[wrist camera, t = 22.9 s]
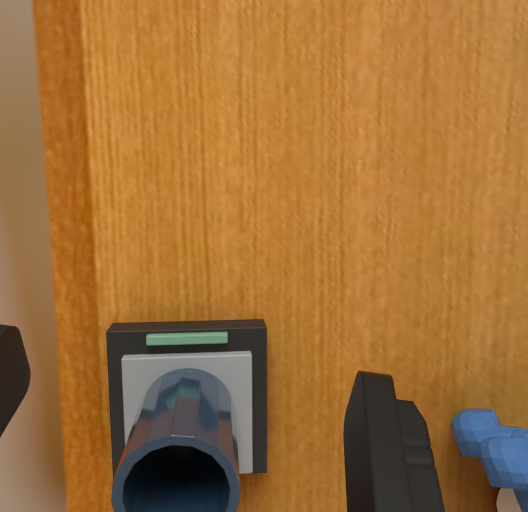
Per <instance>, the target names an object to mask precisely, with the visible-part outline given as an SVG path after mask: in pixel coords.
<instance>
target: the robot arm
mask: <svg viewBox="0 0 528 512" xmlns="http://www.w3.org/2000/svg"><path fill="white" fill-rule="evenodd" d="M30 374H31V373H30V367H29V364H28V360H27V356H26V352H25V349H24V345H23V341H22V338H21V334H20V331H19V329H18V328H17V327H15V326H7V325H0V437H1V435H2V433H3V432H4V430H5V428H6V427H7V425H8V423H9V421H10V420H11V418H12V416H13V415H14V413H15V412H16V410H17V408H18V407H19V405H20V403H21V402H22V400H23V398H24V396H25V395H26V392H27V390H28V387H29V382H30ZM430 445H431V443H430V438H429V434H428V429H427V424H426V421H425V420H424V418H423V417H422V415H421V413H420V412H419V410H418V409H417V407H416V406H415V404H414V403H413V401H405V400H398V399H396V395H395V389H394V383H393V378H392V376H391V375H388V374H380V373H372V372H364V371H358V373H357V375H356V378H355V382H354V385H353V389H352V392H351V396H350V399H349V402H348V406H347V409H346V414H345V420H344V456H345V476H346V495H347V512H445V508H444V504H443V499H442V494H441V490H440V485H439V480H438V476H437V471H436V467H434V463H435V462H434V457H433V452H432V449H431V448H430Z"/></svg>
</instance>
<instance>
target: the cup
mask: <svg viewBox="0 0 528 512" xmlns="http://www.w3.org/2000/svg"><path fill="white" fill-rule="evenodd" d="M240 490H241V485H240V472H239V459H238V445H237V432H236V419H235V410H234V404H233V400H232V397H231V394H230V392H229V391H228V389H227V387H226V386H225V385H224V384H223V383H222V382H221V381H220V380H219V379H218V378H217V377H216V376H214V375H212V374H211V373H208V372H206V371H203V370H200V369H194V368H183V369H177V370H173V371H170V372H168V373H166V374H164V375H162V376H161V377H159V378H158V379H157V380H156V381H154V382H153V383H152V385H151V386H150V387H149V388H148V390H147V391H146V393H145V395H144V397H143V400H142V402H141V403H140V406H139V409H138V412H137V414H136V417H135V420H134V423H133V426H132V428H131V431H130V434H129V437H128V440H127V442H126V445H125V448H124V451H123V454H122V456H121V459H120V462H119V465H118V468H117V471H116V473H115V476H114V479H113V487H112V499H111V502H112V507H113V509H114V512H237V509H238V506H239V498H240Z"/></svg>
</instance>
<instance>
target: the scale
mask: <svg viewBox="0 0 528 512" xmlns="http://www.w3.org/2000/svg"><path fill="white" fill-rule="evenodd" d="M106 338H107V359H108V380H109V401H110V422H111V443H112V464H113V479H114V476H115V473H116V471H117V468H118V465H119V462H120V459H121V456H122V454H123V451H124V448H125V445H126V442H127V440H128V437H129V434H130V431H131V428H132V426H133V423H134V420H135V417H136V414H137V412H138V409H139V406H140V403H141V402H142V400H143V397H144V395H145V393H146V391H147V390H148V388H149V387H150V386H151V385H152V383H153V382H154V381H156V380H157V379H158V378H159V377H161V376H162V375H164V374H166V373H168V372H170V371H173V370H177V369H183V368H194V369H200V370H203V371H206V372H208V373H211V374H212V375H214V376H216V377H217V378H218V379H219V380H220V381H221V382H222V383H223V384H224V385H225V386H226V387H227V389H228V391H229V392H230V394H231V397H232V400H233V404H234V410H235V419H236V432H237V445H238V459H239V472H240V474H252V473H267V327H266V325H265V322H264V319H254V320H216V321H178V322H140V323H113V324H112V325H111V326H110V328H109V329H108V330H107V332H106Z"/></svg>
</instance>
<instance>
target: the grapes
mask: <svg viewBox="0 0 528 512" xmlns="http://www.w3.org/2000/svg"><path fill="white" fill-rule="evenodd" d="M451 427H452V431H453V435H454V438H455V441H456V443H457V446H458V448H459V450H460V453H461V455H462V456H469V457H479V458H480V459H481V463H482V466H483V469H484V471H485V474H486V476H487V478H488V480H489V483H490V485H491V486H495V487H500V488H508V489H513V491H514V494H515V496H516V499H517V502H518V504H519V506H520V508H521V510H522V512H528V430H524V429H523V428H518V427H505V426H500V423H499V420H498V418H497V416H496V414H495V412H494V410H487V409H469V410H465V411H461V412H459V414H455V416H454V418H453V420H452V425H451Z"/></svg>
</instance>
